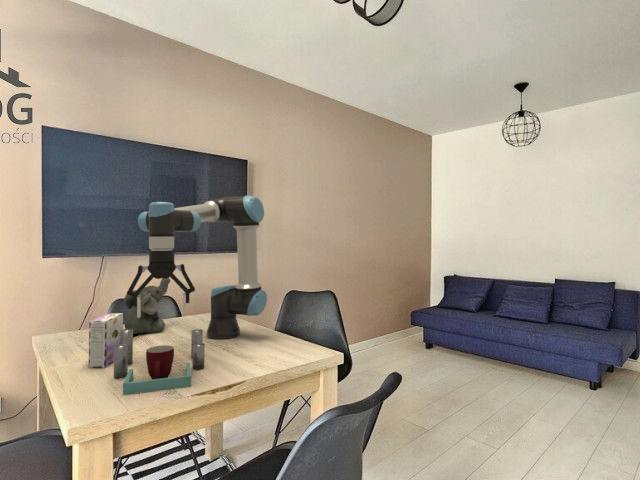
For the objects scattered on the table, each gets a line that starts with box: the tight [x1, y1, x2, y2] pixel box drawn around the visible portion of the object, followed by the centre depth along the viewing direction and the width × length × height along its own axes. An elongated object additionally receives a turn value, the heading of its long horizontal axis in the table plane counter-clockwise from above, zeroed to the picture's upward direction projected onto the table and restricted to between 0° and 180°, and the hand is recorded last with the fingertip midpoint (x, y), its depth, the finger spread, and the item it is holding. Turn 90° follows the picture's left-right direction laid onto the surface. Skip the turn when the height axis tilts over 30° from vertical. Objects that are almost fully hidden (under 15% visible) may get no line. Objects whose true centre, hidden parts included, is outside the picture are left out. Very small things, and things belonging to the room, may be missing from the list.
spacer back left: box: [190, 328, 204, 358], centre depth 139 cm, size 4×4×10 cm
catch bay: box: [122, 362, 192, 396], centre depth 113 cm, size 18×13×3 cm
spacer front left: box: [191, 342, 206, 371], centre depth 126 cm, size 4×4×8 cm
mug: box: [145, 344, 175, 380], centre depth 113 cm, size 10×8×10 cm
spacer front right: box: [113, 344, 129, 380], centre depth 118 cm, size 4×4×10 cm
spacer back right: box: [120, 328, 134, 366], centre depth 130 cm, size 4×4×12 cm
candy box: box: [88, 312, 124, 369], centre depth 132 cm, size 14×6×16 cm, turn 5°
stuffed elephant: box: [123, 277, 171, 335], centre depth 177 cm, size 19×21×27 cm
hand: (162, 315), depth 118 cm, fingers open, 13 cm apart
